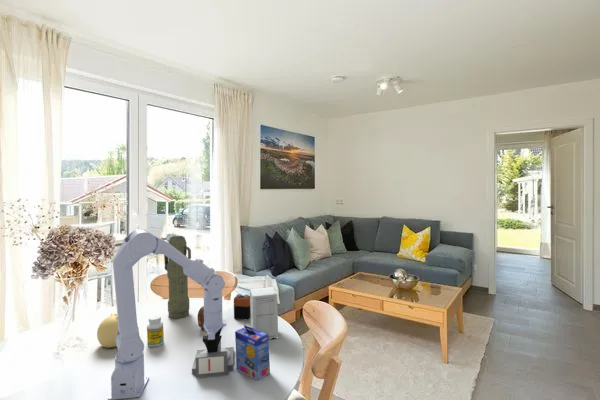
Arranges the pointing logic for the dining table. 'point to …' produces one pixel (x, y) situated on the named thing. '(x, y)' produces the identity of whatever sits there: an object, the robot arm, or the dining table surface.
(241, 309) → the battery
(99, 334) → the sculpture
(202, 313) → the tin
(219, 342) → the silver metal cylinder
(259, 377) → the ink cartridge box
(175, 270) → the thermos
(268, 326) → the white tall box
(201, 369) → the scale
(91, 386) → the dining table surface
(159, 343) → the supplement bottle
